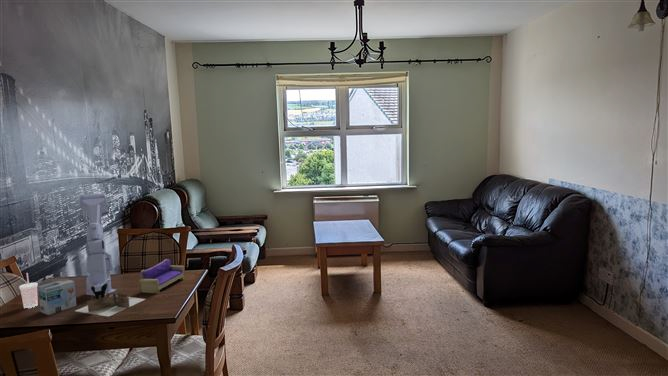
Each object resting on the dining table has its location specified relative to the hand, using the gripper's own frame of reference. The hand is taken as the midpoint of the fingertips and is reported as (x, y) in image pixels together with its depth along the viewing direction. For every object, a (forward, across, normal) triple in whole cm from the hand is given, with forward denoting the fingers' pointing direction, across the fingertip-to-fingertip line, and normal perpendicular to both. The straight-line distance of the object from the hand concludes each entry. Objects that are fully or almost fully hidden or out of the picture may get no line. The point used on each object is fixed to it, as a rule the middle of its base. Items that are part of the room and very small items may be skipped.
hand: (100, 303), depth 165 cm
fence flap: (+2, -1, -1) cm, 2 cm away
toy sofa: (+3, +16, -24) cm, 29 cm away
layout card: (+2, +2, -3) cm, 4 cm away
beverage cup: (+3, +18, +26) cm, 32 cm away
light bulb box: (+3, +8, +15) cm, 17 cm away
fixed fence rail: (+2, -3, -8) cm, 9 cm away
